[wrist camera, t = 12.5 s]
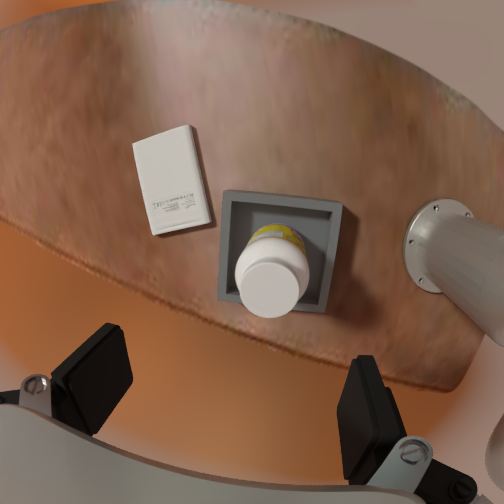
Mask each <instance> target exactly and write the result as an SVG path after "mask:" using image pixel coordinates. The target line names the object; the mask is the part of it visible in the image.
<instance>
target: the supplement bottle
mask: <svg viewBox="0 0 504 504" xmlns="http://www.w3.org/2000/svg"><path fill="white" fill-rule="evenodd" d="M235 280H236V284H237V287H238V289H239V292H240V297H241V300H242V302H243V304H244V305H245V306H246V308H247V309H248V310H249V311H251V312H252V313H254V314H255V315H257V316H260V317H264V318H276V317H280V316H282V315H285V314H286V313H288V312H289V311H291V310H292V309H293V308H294V306H295V305H296V303H297V301H298V300H299V299H300V298H301V297H302V296H303V294H304V293H305V291H306V289H307V286H308V283H309V266H308V261H307V256H306V251H305V246H304V243H303V240H302V238H301V236H300V235H299V234H298V232H297V231H296V230H294V229H293V228H292V227H290V226H288V225H285V224H281V223H272V224H268V225H265V226H263V227H261V228H260V229H258V230H257V231H256V232H255V233H254V234H253V236H252V237H251V239H250V241H249V242H248V244H247V246H246V247H245V249H244V251H243V252H242V254H241V255H240V257H239V259H238V261H237V264H236V269H235Z"/></svg>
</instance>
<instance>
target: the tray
mask: <svg viewBox="0 0 504 504" xmlns="http://www.w3.org/2000/svg"><path fill="white" fill-rule="evenodd" d="M342 207H343V204H342V203H341V202H339V201H333V200H326V199H318V198H310V197H301V196H293V195H283V194H274V193H263V192H253V191H241V190H225V191H223V201H222V217H221V234H220V253H219V275H218V300H219V301H226V302H233V303H241V304H243V302H242V300H241V297H240V292H239V289H238V287H237V284H236V280H235V269H236V264H237V261H238V259H239V257H240V255H241V254H242V252H243V251H244V249H245V247H246V246H247V244H248V242H249V241H250V239H251V237H252V236H253V234H254V233H255V232H256V231H257V230H258V229H260V228H261V227H263V226H265V225H268V224H272V223H281V224H285V225H288V226H290V227H292V228H293V229H294V230H296V231H297V232H298V234H299V235H300V236H301V238H302V240H303V243H304V246H305V251H306V256H307V261H308V266H309V283H308V286H307V289H306V291H305V293H304V294H303V296H302V297H301V298H300V299H299V300H298V301H297V303H296V305H295V306H294V308H293V309H292V310H298V311H307V312H317V313H325V310H326V305H327V300H328V295H329V290H330V284H331V279H332V273H333V268H334V262H335V256H336V249H337V243H338V236H339V230H340V223H341V215H342Z"/></svg>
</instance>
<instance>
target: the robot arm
mask: <svg viewBox="0 0 504 504" xmlns="http://www.w3.org/2000/svg"><path fill="white" fill-rule="evenodd" d="M433 207H434V208H433ZM410 240H411V242H410V243H409V241H410ZM403 258H404V264H405V267H406V270H407V272H408V274H409V276H410V277H411V279H412V280H413V281H414V282H415V283H416V284H417V285H418V286H419V287H420V288H422V289H424V290H426V291H429V292H433V293H440V292H443V293H444V294H445V295H446V296H447V297H449V298H450V299H451V300H452V301H453V302H454V303H455V304H456V305H457V306H458V307H459V308H460V309H461V310H462V311H463V312H464V313H465V314H467V315H468V316H469V317H470V318H471V319H472V320H473V321H474V322H475V323H476V324H477V325H478V326H479V327H480V328H481V329H482V330H483V331H484V332H485V333H486V334H487V335H488V336H489V337H490V338H491V339H492V340H493V341H494V342H495V343H497V344H499V345H500V346H503V347H504V229H502V228H500V227H497V226H494V225H491V224H488V223H486V222H483V221H480V220H477V219H475V217H474V216H473V214H472V212H471V211H470V210H469V209H468V208H467V207H466V206H465V205H464V204H462V203H461V202H458V201H456V200H452V199H437V200H433V201H431V202H429V203H427V204H426V205H425V206H423V207H422V208H421V209H420V210H419V211H418V212H417V213H416V214H415V216H414V217H413V219H412V220H411V222H410V224H409V226H408V229H407V231H406V234H405V238H404V243H403ZM419 279H420V280H419ZM51 376H52V378H51V379H49V378H48V377H47V376H45V375H42V374H34V375H30V376H29V377H27V378H26V379H24V380H23V382H22V384H21V388H20V389H19V390H12V391H5V392H0V504H493V503H492V502H491V501H490V500H489V499H487V498H486V497H485V496H484V495H483V494H482V495H481V496H479V495H478V494H477V484H476V482H475V481H474V480H473V478H472V477H470V476H468V475H466V474H464V473H462V472H460V471H457V470H455V469H453V468H451V467H449V466H447V465H445V464H442V463H441V462H439V461H437V460H435V459H432V457H433V449H432V447H431V445H430V444H429V442H427V440H425V439H423V438H421V437H418V436H408V437H407V434H406V431H405V428H404V425H403V422H402V419H401V416H400V413H399V410H398V408H397V405H396V402H395V399H394V397H393V394H392V391H391V389H390V388H389V387H385V386H384V383H383V381H382V378H381V375H380V372H379V370H378V367H377V364H376V362H375V359H374V357H373V356H372V355H358V357H357V359H353V360H352V362H351V366H350V369H349V372H348V376H347V379H346V382H345V386H344V389H343V391H342V394H341V398H340V401H339V403H338V406H337V420H338V428H339V435H340V445H341V454H342V462H343V463H342V464H343V474H344V479H345V480H349V485H293V484H276V483H265V482H255V481H247V480H239V479H233V478H227V477H221V476H215V475H210V474H205V473H200V472H196V471H192V470H187V469H183V468H179V467H175V466H172V465H168V464H165V463H161V462H158V461H154V460H151V459H148V458H145V457H142V456H139V455H136V454H133V453H131V452H128V451H125V450H122V449H120V448H117V447H115V446H112V445H110V444H107V443H105V442H102V441H100V440H98V439H96V438H93V437H92V436H93V434H97V433H98V431H99V430H100V428H101V427H102V425H103V424H104V423H105V421H106V420H107V418H108V417H109V416H110V414H111V413H112V411H113V410H114V408H115V407H116V406H117V404H118V403H119V401H120V400H121V399H122V397H123V396H124V394H125V393H126V391H127V390H128V389H129V387H130V386H131V384H132V382H133V374H132V371H131V366H130V362H129V357H128V352H127V348H126V343H125V338H124V333H123V330H121V328H120V326H118V325H115V324H111V323H105V324H104V325H103V326H102V327H101V328H100V329H98V330H97V331H96V332H95V333H94V334H93V335H92V336H91V337H90V338H88V339H87V340H86V341H85V342H84V343H83V344H82V345H81V346H80V347H79V348H77V349H76V350H75V351H74V352H73V353H72V354H71V355H70V356H69V357H68V358H67V359H66V360H64V361H63V362H62V363H61V364H60V365H59V366H58V367H57V368H56V369H55V370H54V371H53V372H52V373H51ZM485 465H486V469H487V472H488V474H489V476H490V478H491V480H492V481H493V482H494V484H496V486H497V487H499V488H500V489H501V490H503V491H504V414H503V416H502V417H501V419H500V421H499V422H498V424H497V425H496V427H495V428H494V431H493V432H492V434H491V436H490V439H489V441H488V444H487V448H486V453H485Z"/></svg>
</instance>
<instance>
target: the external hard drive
mask: <svg viewBox="0 0 504 504" xmlns="http://www.w3.org/2000/svg"><path fill="white" fill-rule="evenodd" d="M132 145H133V150H134V155H135V161H136V166H137V171H138V175H139V180H140V185H141V189H142V194H143V198H144V202H145V206H146V210H147V214H148V219H149V222H150V226H151V230H152V234H153V235H157V234H161V233H166V232H170V231H175V230H179V229H184V228H188V227H193V226H198V225H203V224H207V223H210V222H212V220H211V215H210V211H209V206H208V202H207V198H206V193H205V189H204V184H203V179H202V175H201V170H200V166H199V161H198V156H197V151H196V147H195V142H194V137H193V132H192V128H191V125H189V124H188V125H184V126H181V127H177V128H174V129H171V130H169V131H166V132H163V133H160V134H157V135H154V136H151V137H149V138H146V139H143V140H141V141H138V142H136V143H133V144H132Z"/></svg>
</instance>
